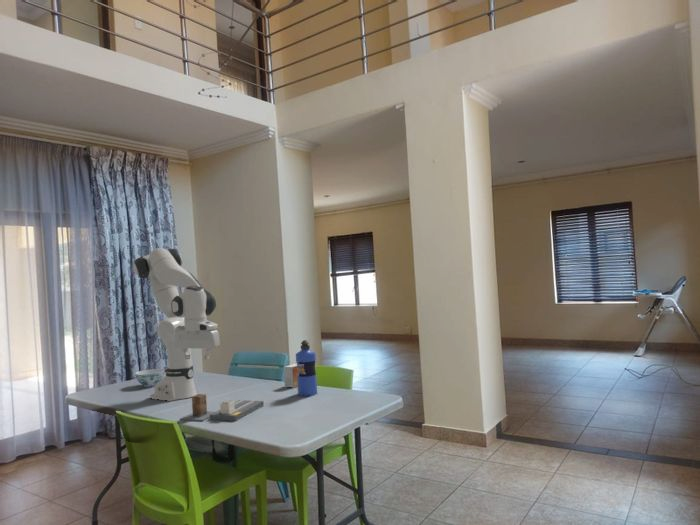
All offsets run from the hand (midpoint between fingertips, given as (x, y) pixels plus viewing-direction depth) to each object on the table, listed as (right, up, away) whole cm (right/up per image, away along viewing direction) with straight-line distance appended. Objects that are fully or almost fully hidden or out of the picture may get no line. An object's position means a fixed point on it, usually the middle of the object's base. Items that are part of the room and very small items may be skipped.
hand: (197, 359), depth 202 cm
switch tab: (+14, -21, -4) cm, 25 cm away
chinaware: (-46, -28, +66) cm, 85 cm away
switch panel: (+16, -23, +3) cm, 28 cm away
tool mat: (+1, -24, -1) cm, 24 cm away
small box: (+35, -23, +46) cm, 62 cm away
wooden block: (+1, -23, 0) cm, 23 cm away
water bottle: (+43, -22, +28) cm, 56 cm away
